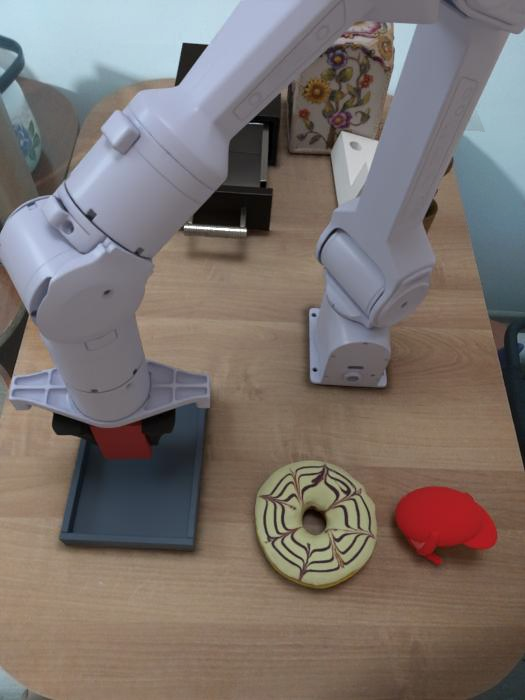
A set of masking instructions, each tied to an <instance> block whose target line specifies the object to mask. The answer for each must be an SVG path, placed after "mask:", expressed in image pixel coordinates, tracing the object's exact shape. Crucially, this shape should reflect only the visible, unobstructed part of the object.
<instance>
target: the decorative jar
mask: <svg viewBox="0 0 525 700" xmlns="http://www.w3.org/2000/svg"><path fill="white" fill-rule="evenodd" d="M394 40H395V23H388V22H369V21H359V22H356V23H355V24H353V25H352V26H351V27H350V28H349V29H348V30H347V31H346V32H345V33H344V34H343V35H342V36H341V37H340V38H339V39H337V40H336V41H335V42H334V43H333V44H332V45H331V46H330V47H329V48H328V49H327V50H326V51H325V52H324V53H322V54H321V55H320V56H319V57H318V58H317V59H316V60H315V61H314V62H313V63H312V64H311V65H310V66H309V67H307V68H306V69H305V70H304V71H303V72H302V73H301V74H300V75H299V76H298V77H297V78H296V79H295V80H294V81H293V82H291V83H290V84H289V85H288V86H287V93H286V127H287V148H288V151H289V153H291V154H306V155H307V154H308V155H309V154H310V155H312V154H314V155H329V156H331V150H332V148H333V146H334V144H335V143H336V141H337V139H338V137H339V135H340V133H341V131H344V132H348V133H352V134H355V135H359V136H362V137H366V138H370V139H373V140H376V138H377V134H378V131H379V126H380V124H381V120H382V115H383V111H384V107H385V103H386V99H387V96H388V91H389V88H390V83H391V79H392V75H393V72H394V68H395V53H396V47H395V46H394Z"/></svg>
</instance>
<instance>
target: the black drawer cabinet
mask: <svg viewBox="0 0 525 700" xmlns="http://www.w3.org/2000/svg"><path fill="white" fill-rule="evenodd" d="M209 44H210V43H193V42H182V45H181V50H180V55H179V60H178V65H177V70H176V76H175V82H174V86H173V87H176V86H178V85H179V84H180V83H181V82H182V80H183V79H184V78H185V76H186V75H187V74H188V72H189V71H190V69H191V68H192V67H193V65H194V64H195V63H196V61H197V60H198V59H199V57H200V56H201V54H202V53H203V52H204V50H205V49H206V48H207V46H208V45H209ZM281 105H282V92H281V93H280V94H279V95H278V96H276V97H275V98H274V99H273V100H272V101H271V102H270V103H269V104H268V105H267V106H266V107H265V108H264V109H263V110H261V111H260V112H259V113H258V114H257V115H256V116H255V117H254V118H253V119H252V120H257V121H269V144H268V166H272V167H276V165H277V155H278V146H279V137H280V136H279V135H280V124H281V108H282V107H281Z"/></svg>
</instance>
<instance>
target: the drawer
mask: <svg viewBox="0 0 525 700" xmlns="http://www.w3.org/2000/svg"><path fill="white" fill-rule="evenodd" d="M268 144H269V121H257V120H251V121H250V122H249V123H248V124H247V125H245V126H244V127H243V128H242V129H241V130H240V131H239V132H238V133H237V134H236V135H235V136H234V137H233V138H232V139H231V140H230V143H229V151H228V174H227V178H226V180H225V181H224V182H223V183H222V184H221V186H220V187H219V188H218V189H217V190H216V191H215V192H214V193H213V194H212V195H211V196H210V197H209V198H208V199H207V200H206V202H205V203H204V204H203V205H202V206H201V207H200V208H199V209H198V210H197V211H196V212H195V213H194V214H193V215H192V217H191V218H190V219H189V220H188V221H187V222H186V223H185V224H184V225H183V226H182V227H183V236H185V237H186V236H187V237H202V238H203V237H204V238H218V239H219V238H220V239H235V240H247V238H248V237H247V235H248V234H247V233H248V231H259V232H269V231H270V228H271V217H272V206H273V198H274V197H273V196H274V188H272V187H268V169H269V168H268V167H269V165H268Z"/></svg>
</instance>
